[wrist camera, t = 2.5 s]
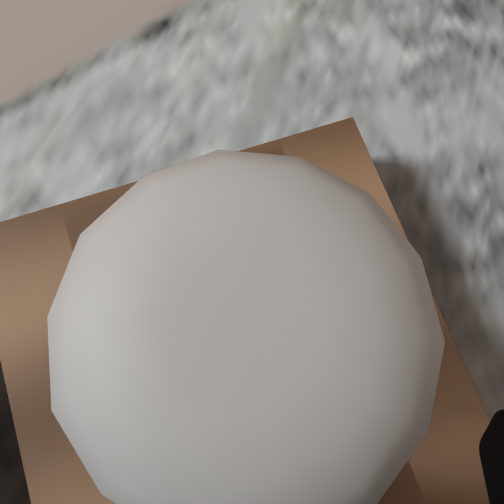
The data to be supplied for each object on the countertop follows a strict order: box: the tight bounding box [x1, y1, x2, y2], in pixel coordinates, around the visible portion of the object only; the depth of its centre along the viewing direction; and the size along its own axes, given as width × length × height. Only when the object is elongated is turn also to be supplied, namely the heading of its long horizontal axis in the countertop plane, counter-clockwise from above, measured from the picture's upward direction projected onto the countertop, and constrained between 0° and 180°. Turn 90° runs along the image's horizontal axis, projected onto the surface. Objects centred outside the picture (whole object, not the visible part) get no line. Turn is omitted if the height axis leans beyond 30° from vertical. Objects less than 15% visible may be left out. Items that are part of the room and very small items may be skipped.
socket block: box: [0, 117, 490, 504], centre depth 15 cm, size 13×13×3 cm
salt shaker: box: [47, 150, 445, 504], centre depth 11 cm, size 6×6×13 cm
